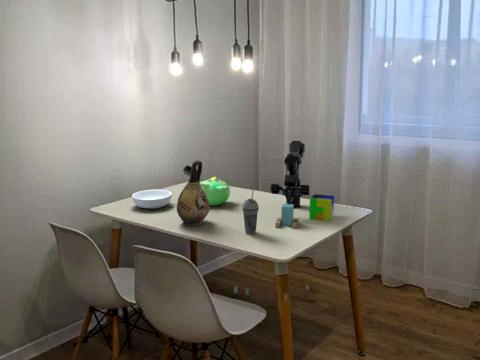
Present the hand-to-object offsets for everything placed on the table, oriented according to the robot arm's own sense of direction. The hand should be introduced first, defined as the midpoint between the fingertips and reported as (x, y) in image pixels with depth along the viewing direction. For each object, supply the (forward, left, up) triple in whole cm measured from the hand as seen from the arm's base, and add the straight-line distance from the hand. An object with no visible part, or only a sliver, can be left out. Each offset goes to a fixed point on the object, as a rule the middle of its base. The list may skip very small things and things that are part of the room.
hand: (288, 204), depth 228 cm
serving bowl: (+55, -51, -9) cm, 76 cm away
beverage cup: (+23, +9, -8) cm, 26 cm away
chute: (+3, +5, -8) cm, 10 cm away
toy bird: (+24, -41, -9) cm, 49 cm away
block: (+3, +4, -8) cm, 10 cm away
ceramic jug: (+42, -15, -9) cm, 46 cm away
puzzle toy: (-18, +1, -9) cm, 20 cm away
